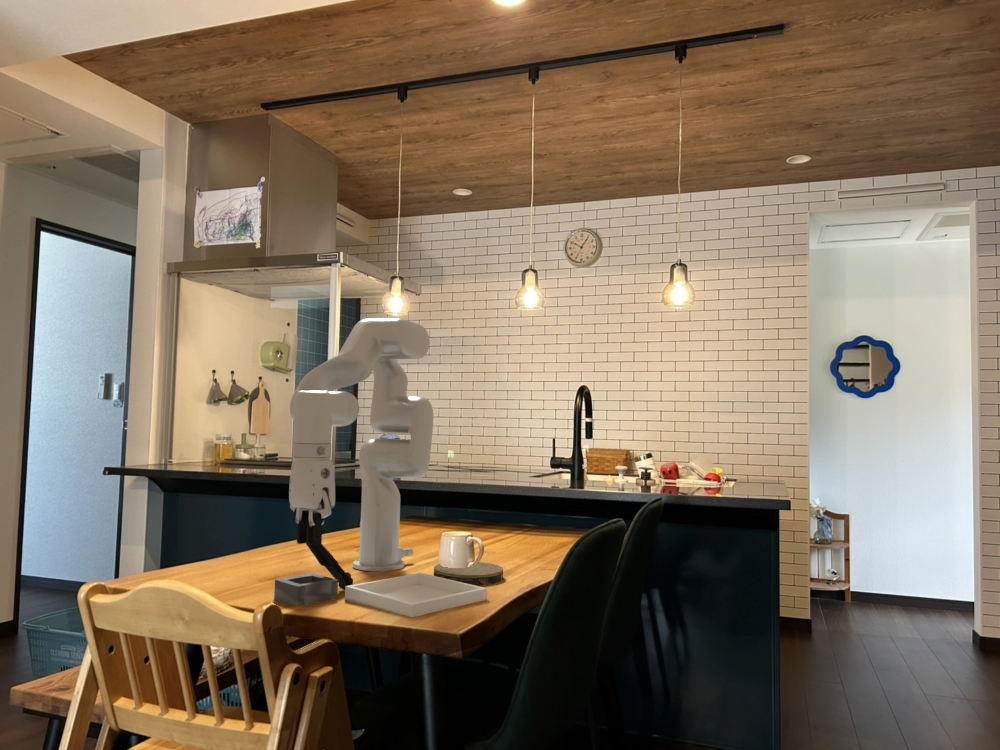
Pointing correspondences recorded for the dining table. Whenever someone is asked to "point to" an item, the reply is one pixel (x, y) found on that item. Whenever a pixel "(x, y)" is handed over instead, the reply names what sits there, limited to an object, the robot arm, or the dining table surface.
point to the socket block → (305, 589)
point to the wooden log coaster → (472, 573)
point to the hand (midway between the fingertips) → (309, 543)
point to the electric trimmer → (331, 565)
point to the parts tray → (414, 594)
